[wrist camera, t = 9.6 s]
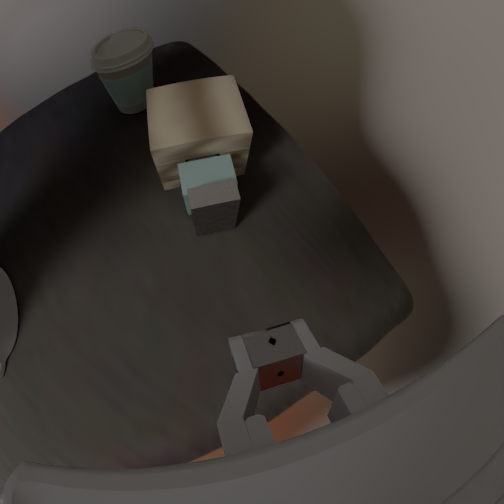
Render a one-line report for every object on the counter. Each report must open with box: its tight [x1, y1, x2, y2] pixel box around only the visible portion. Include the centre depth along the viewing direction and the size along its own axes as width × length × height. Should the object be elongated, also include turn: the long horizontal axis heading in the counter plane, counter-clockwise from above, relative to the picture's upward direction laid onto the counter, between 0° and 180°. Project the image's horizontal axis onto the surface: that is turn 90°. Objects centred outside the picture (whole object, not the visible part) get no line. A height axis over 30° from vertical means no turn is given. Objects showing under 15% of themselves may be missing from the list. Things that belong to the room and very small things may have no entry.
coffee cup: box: [90, 28, 154, 114], centre depth 29 cm, size 8×8×12 cm
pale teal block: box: [178, 154, 238, 215], centre depth 29 cm, size 5×4×5 cm, turn 104°
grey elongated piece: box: [187, 154, 240, 236], centre depth 30 cm, size 4×18×8 cm, turn 15°
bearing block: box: [146, 75, 253, 190], centre depth 30 cm, size 10×9×9 cm
